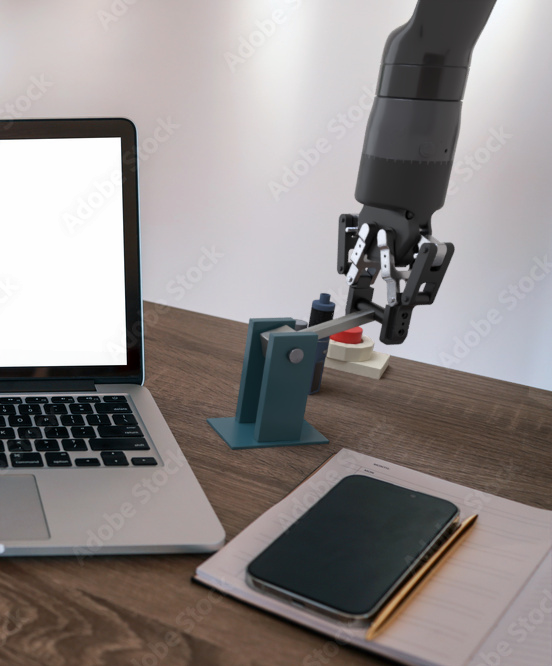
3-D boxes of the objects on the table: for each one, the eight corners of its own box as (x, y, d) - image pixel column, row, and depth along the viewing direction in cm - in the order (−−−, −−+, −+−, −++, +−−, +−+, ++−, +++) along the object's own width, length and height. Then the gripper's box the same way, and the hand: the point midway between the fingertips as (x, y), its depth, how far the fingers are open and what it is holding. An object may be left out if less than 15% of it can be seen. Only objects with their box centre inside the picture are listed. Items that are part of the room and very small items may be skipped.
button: (363, 340, 94) (366, 326, 93) (356, 348, 91) (359, 334, 91) (333, 333, 96) (335, 320, 95) (325, 341, 93) (328, 327, 92)
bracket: (295, 423, 79) (314, 314, 75) (327, 451, 74) (349, 335, 70) (204, 429, 77) (219, 317, 73) (230, 458, 72) (248, 339, 68)
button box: (387, 370, 95) (393, 340, 94) (377, 387, 90) (383, 355, 88) (305, 351, 100) (310, 322, 98) (291, 366, 95) (296, 335, 93)
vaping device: (310, 404, 84) (329, 299, 80) (269, 388, 88) (286, 286, 84) (323, 399, 86) (342, 295, 82) (283, 383, 89) (299, 283, 85)
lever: (368, 313, 76) (366, 291, 75) (400, 330, 72) (399, 307, 71) (255, 350, 75) (252, 328, 74) (281, 370, 70) (278, 347, 69)
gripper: (504, 163, 63) (458, 359, 68) (394, 143, 76) (363, 308, 81) (424, 162, 61) (383, 363, 67) (325, 141, 74) (298, 310, 80)
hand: (372, 332), depth 74 cm, fingers closed on lever, 5 cm apart
